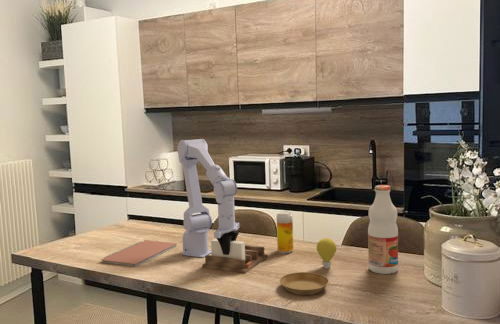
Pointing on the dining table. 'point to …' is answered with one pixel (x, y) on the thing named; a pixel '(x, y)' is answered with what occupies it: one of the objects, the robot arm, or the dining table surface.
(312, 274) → the plant saucer
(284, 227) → the beer can
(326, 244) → the light bulb
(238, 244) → the block
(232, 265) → the rack
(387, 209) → the fruit juice
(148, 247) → the notebook
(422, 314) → the dining table surface
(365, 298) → the dining table surface
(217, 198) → the robot arm
